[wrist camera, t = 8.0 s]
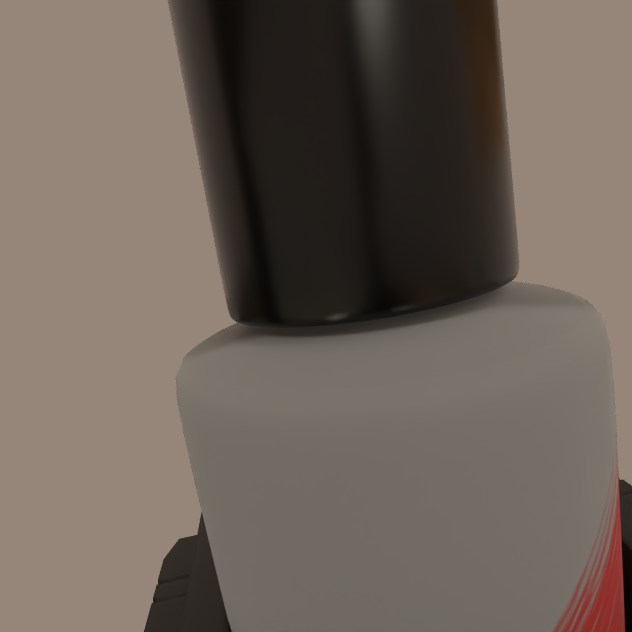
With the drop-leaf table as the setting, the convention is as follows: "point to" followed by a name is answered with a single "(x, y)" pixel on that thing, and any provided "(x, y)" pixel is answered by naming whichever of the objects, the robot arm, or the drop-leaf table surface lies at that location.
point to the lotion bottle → (386, 336)
